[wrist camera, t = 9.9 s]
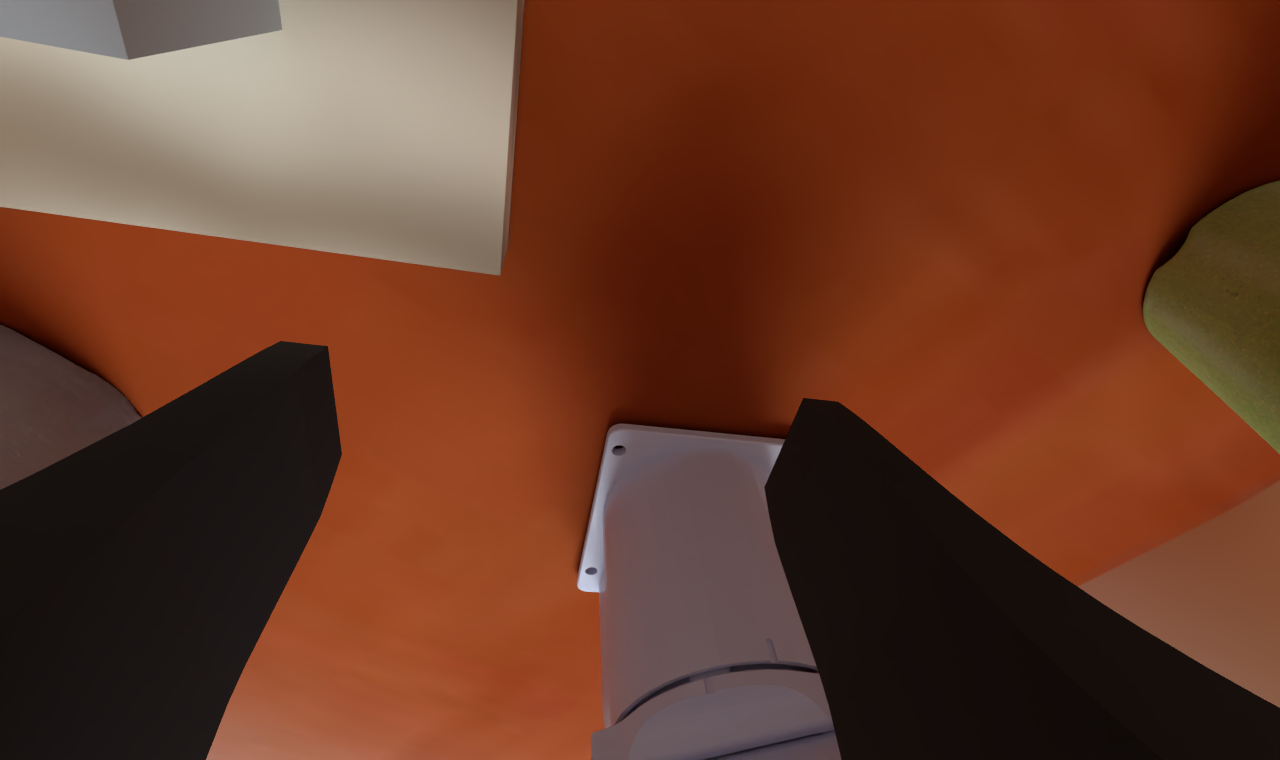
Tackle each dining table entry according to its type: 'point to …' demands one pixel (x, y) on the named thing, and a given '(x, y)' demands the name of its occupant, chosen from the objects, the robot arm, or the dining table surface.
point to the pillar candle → (50, 407)
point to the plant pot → (1227, 306)
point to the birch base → (285, 132)
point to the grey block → (135, 23)
